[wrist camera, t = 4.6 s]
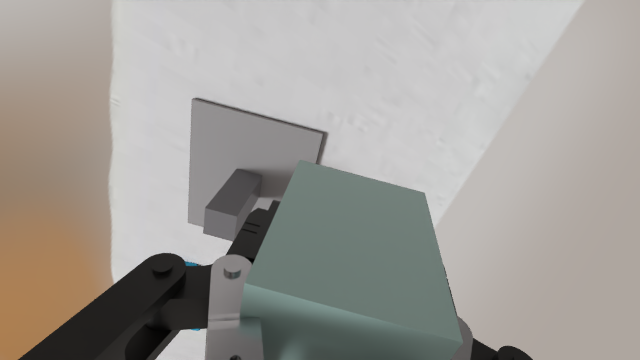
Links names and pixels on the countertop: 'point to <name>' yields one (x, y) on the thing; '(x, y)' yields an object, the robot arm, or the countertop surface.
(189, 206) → the mat
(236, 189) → the post
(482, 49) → the countertop surface
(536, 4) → the countertop surface
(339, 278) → the mint green square prism
